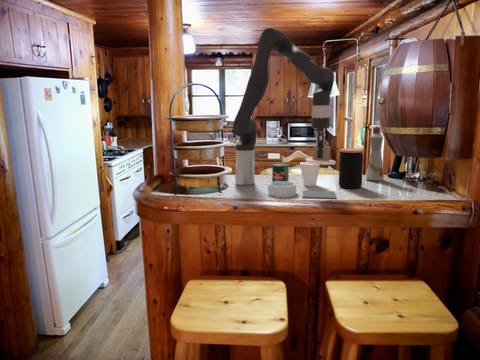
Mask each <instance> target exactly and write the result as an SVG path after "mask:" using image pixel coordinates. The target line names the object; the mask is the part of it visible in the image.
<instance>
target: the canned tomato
mask: <svg viewBox="0 0 480 360" xmlns="http://www.w3.org/2000/svg"><path fill="white" fill-rule="evenodd" d="M271 166H272V168H271V170H272V173H271V174H272V175H271V177H272V181H271V182H276V181H289V179H290V178H289V176H290V175H289V174H290V173H289V172H290V171H289V170H290V169H289V168H290V164H289V163H283V162H275V163H272V165H271Z"/></svg>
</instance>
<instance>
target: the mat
mask: <svg viewBox="0 0 480 360" xmlns="http://www.w3.org/2000/svg"><path fill="white" fill-rule="evenodd" d="M301 198H302V199H326V200H327V199H329V200H337V194H336V191H333V190H332V191H331V190H302V197H301Z"/></svg>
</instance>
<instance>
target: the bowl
mask: <svg viewBox="0 0 480 360" xmlns="http://www.w3.org/2000/svg"><path fill="white" fill-rule="evenodd" d="M267 187H268V189H267V191H268V192H267V194H268V195H269V196H271V197H278V198H289V196H290V197H294V196H296V195H297V183H296V182H293V181H289V180H288V181H276V182H272V181H271V182H269V183H268V186H267ZM268 195H267V196H268Z"/></svg>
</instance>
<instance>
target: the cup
mask: <svg viewBox="0 0 480 360" xmlns="http://www.w3.org/2000/svg"><path fill="white" fill-rule="evenodd" d="M299 164H300V171H301V178H302V183H303V186H305V187H315V186H317V181H318V176H319V172H320V166H321V164H315V163H310V162H307V161H301V162H300V163H299Z"/></svg>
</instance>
